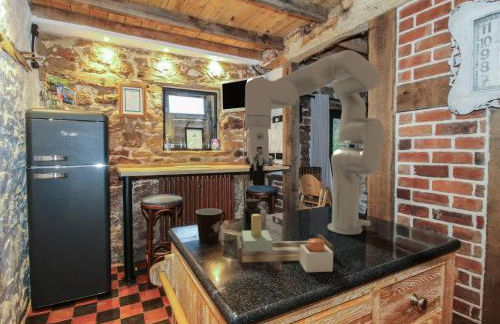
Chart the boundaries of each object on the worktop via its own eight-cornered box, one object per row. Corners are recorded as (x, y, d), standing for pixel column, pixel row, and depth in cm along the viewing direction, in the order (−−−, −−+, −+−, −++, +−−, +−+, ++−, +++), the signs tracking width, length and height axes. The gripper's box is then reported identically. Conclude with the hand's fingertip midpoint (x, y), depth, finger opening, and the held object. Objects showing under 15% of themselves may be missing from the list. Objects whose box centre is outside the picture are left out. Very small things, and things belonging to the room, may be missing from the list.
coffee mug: (200, 247, 86) (200, 215, 85) (192, 238, 94) (192, 209, 93) (234, 241, 91) (234, 212, 91) (224, 233, 99) (224, 206, 98)
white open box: (323, 261, 77) (324, 243, 77) (332, 271, 71) (333, 252, 71) (299, 262, 76) (300, 244, 76) (306, 272, 70) (306, 253, 70)
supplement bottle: (261, 229, 105) (262, 198, 104) (260, 235, 98) (260, 202, 97) (243, 228, 106) (244, 197, 105) (241, 234, 99) (241, 201, 98)
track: (320, 246, 88) (320, 234, 88) (332, 259, 78) (333, 245, 78) (236, 248, 85) (236, 235, 85) (238, 262, 75) (238, 248, 75)
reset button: (320, 248, 76) (321, 238, 75) (326, 255, 71) (326, 243, 71) (305, 249, 75) (306, 238, 75) (310, 255, 71) (311, 244, 71)
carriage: (267, 239, 86) (267, 211, 85) (272, 250, 77) (272, 219, 76) (241, 240, 85) (241, 211, 84) (243, 251, 76) (244, 219, 75)
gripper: (276, 121, 70) (274, 187, 71) (265, 125, 87) (264, 179, 88) (247, 120, 69) (246, 187, 70) (242, 125, 87) (241, 179, 88)
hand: (256, 182), depth 79 cm, fingers open, 9 cm apart
